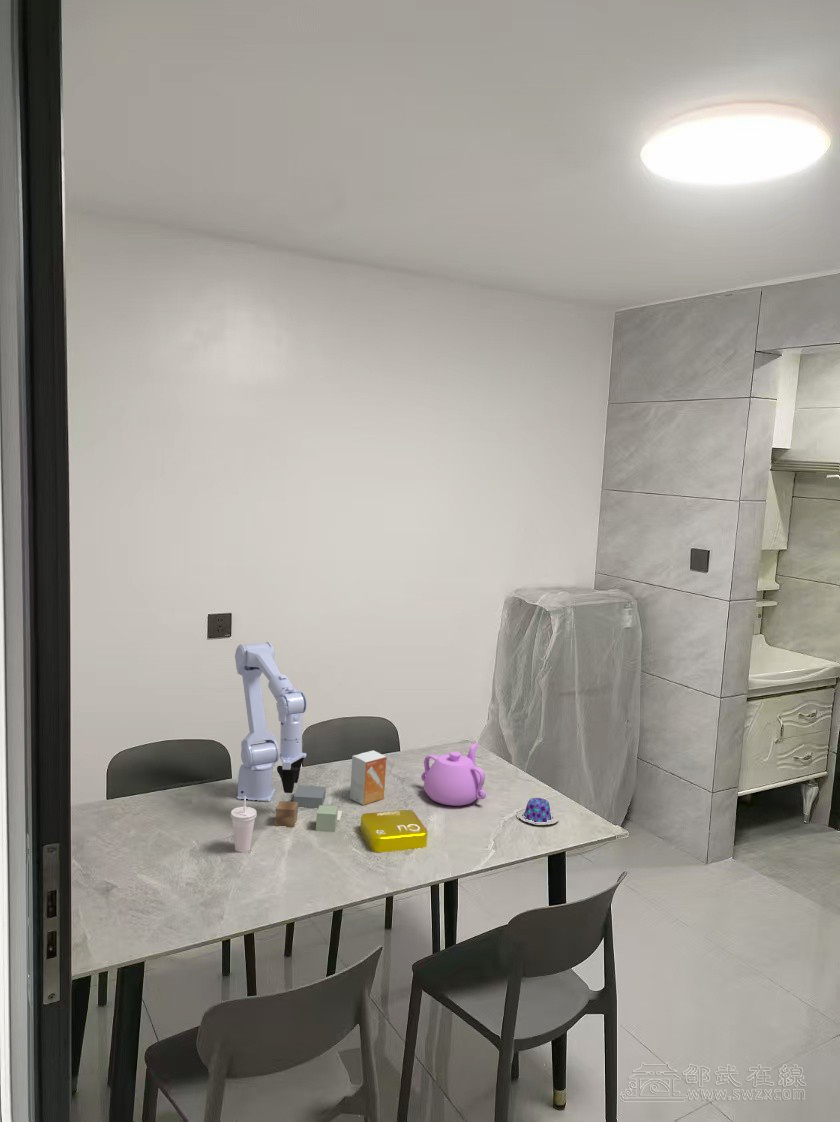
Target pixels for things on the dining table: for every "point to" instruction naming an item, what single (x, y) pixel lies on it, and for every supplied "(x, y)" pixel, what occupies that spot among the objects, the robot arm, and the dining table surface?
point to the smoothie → (243, 826)
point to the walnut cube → (286, 813)
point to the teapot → (454, 778)
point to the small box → (368, 777)
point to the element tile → (393, 831)
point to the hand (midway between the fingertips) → (291, 787)
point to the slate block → (310, 796)
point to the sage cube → (326, 818)
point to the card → (339, 815)
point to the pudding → (537, 810)
